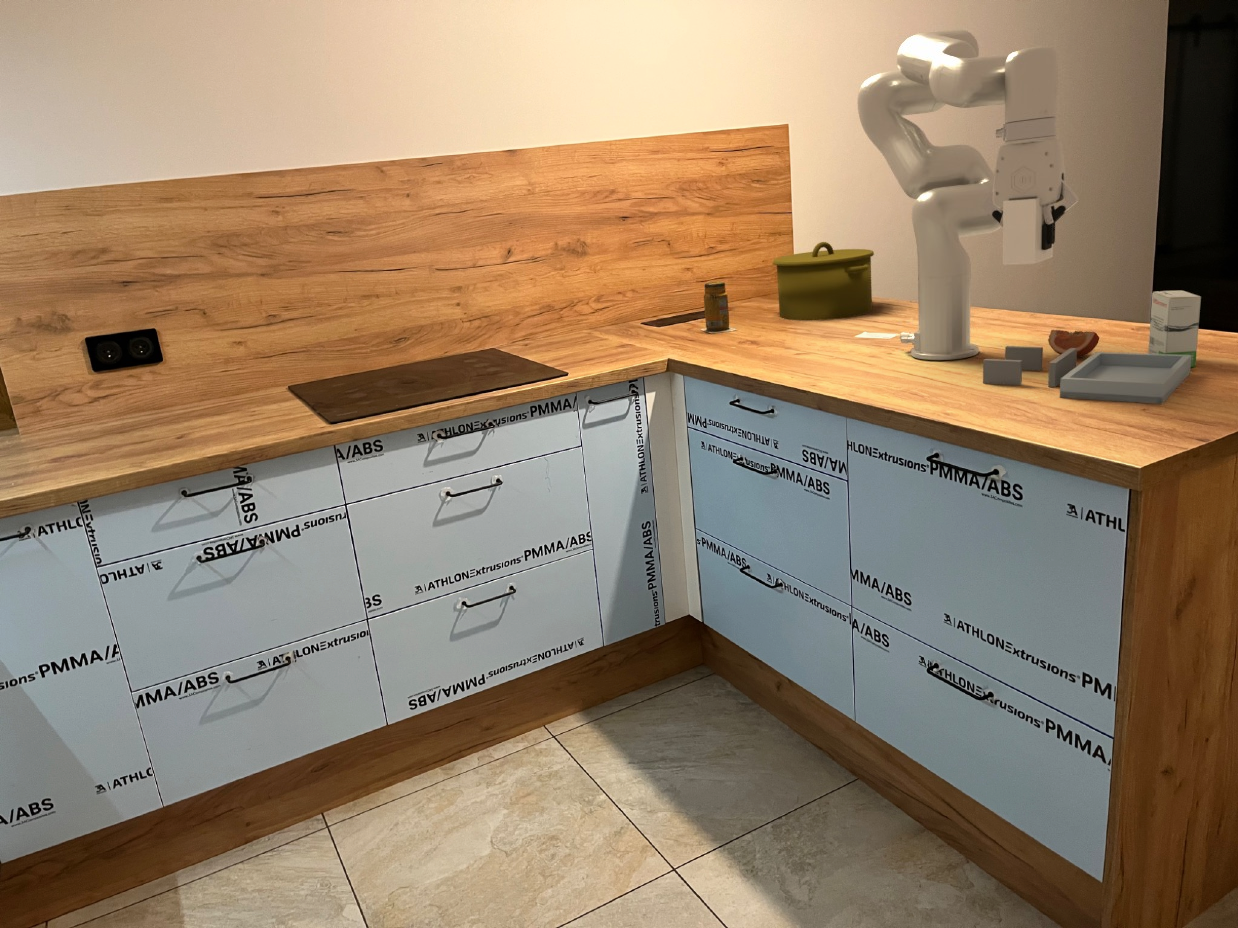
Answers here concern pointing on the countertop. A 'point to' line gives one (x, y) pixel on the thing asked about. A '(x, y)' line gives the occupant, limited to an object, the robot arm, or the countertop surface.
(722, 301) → the condiment
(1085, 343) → the fruit slice
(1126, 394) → the tray
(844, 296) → the cooking pot
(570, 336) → the countertop surface
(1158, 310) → the ink box
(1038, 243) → the grey-panelled white block
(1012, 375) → the dock
